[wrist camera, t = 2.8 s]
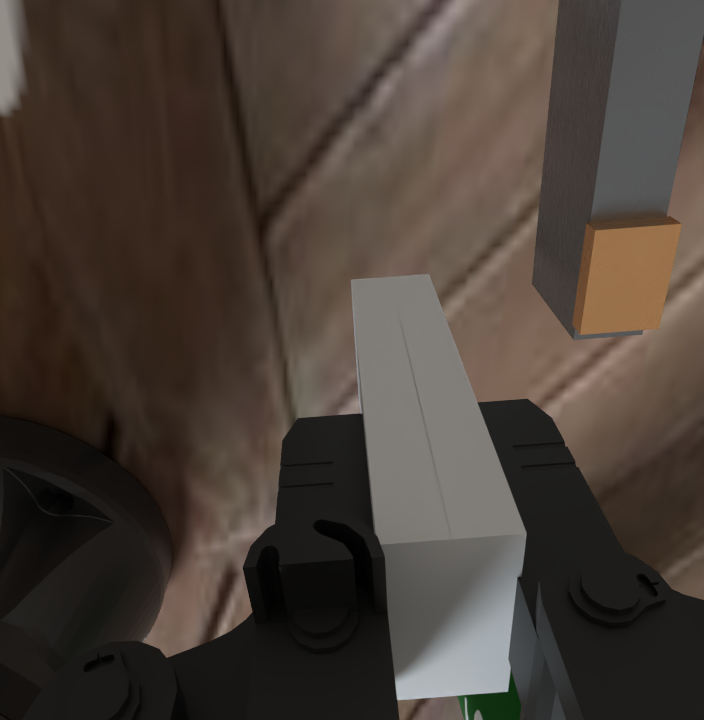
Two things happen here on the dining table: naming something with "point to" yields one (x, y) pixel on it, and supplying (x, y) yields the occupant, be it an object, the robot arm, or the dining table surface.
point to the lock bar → (614, 161)
